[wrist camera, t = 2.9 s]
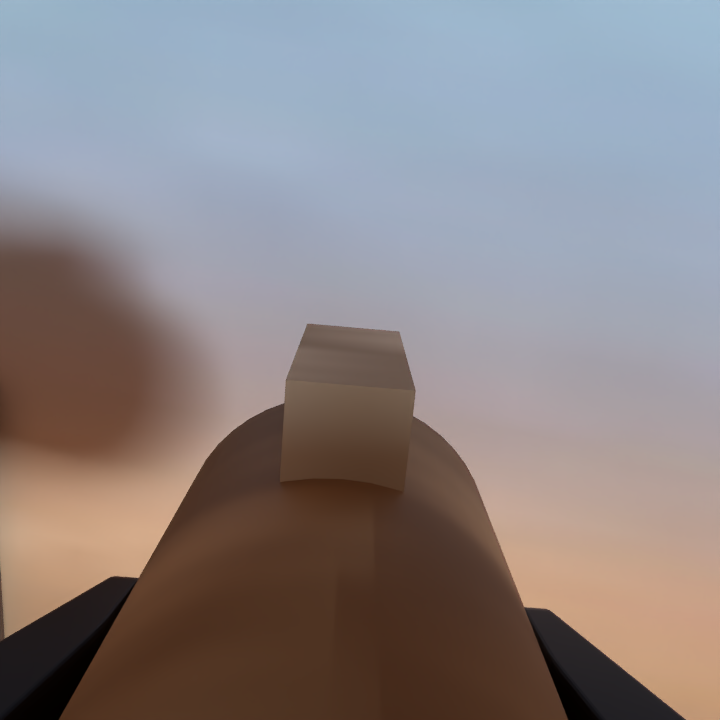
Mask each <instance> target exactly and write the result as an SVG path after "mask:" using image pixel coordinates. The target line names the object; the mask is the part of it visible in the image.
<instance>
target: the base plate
mask: <svg viewBox="0 0 720 720" xmlns="http://www.w3.org/2000/svg"><path fill="white" fill-rule="evenodd" d="M3 639H4V624H3V607H2V590H1V573H0V641H2V640H3Z"/></svg>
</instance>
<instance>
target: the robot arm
mask: <svg viewBox="0 0 720 720" xmlns="http://www.w3.org/2000/svg"><path fill="white" fill-rule="evenodd" d="M138 579H139V578H131V577H118V576H113V577H110V578H108V579H106V580H105V581H103V582H101V583H99V584H98V585H96V586H94V587H93V588H91V589H89V590H87V591H86V592H84V593H82V594H81V595H79V596H77V597H75V598H74V599H72V600H70V601H69V602H67V603H65V604H63V605H62V606H60V607H58V608H57V609H55V610H53V611H51V612H50V613H48V614H46V615H45V616H43V617H41V618H39V619H38V620H36V621H34V622H33V623H31V624H29V625H27V626H26V627H24V628H22V629H21V630H19V631H17V632H15V633H14V634H12V635H10V636H9V637H7V638H5V639H3V640H2V641H0V720H59V718H60V717H61V715H62V713H63V711H64V710H65V708H66V706H67V704H68V702H69V701H70V699H71V697H72V695H73V694H74V692H75V690H76V688H77V687H78V685H79V683H80V681H81V679H82V678H83V676H84V674H85V672H86V671H87V669H88V667H89V665H90V664H91V662H92V660H93V658H94V657H95V655H96V653H97V651H98V649H99V648H100V646H101V644H102V642H103V641H104V639H105V637H106V635H107V634H108V632H109V630H110V628H111V626H112V625H113V623H114V621H115V619H116V618H117V616H118V614H119V612H120V611H121V609H122V607H123V605H124V604H125V602H126V600H127V598H128V596H129V595H130V593H131V591H132V589H133V588H134V586H135V584H136V582H137V581H138ZM524 608H525V611H526V613H527V616H528V619H529V621H530V624H531V626H532V629H533V631H534V634H535V636H536V639H537V642H538V644H539V647H540V649H541V652H542V654H543V657H544V659H545V662H546V664H547V667H548V670H549V672H550V675H551V677H552V680H553V682H554V685H555V687H556V690H557V692H558V695H559V698H560V700H561V703H562V705H563V708H564V710H565V713H566V715H567V718H568V720H686V719H684V718H683V717H682V716H681V715H679V714H678V713H677V712H676V711H674V710H673V709H672V708H671V707H669V706H668V705H667V704H666V703H664V702H663V701H662V700H661V699H659V698H658V697H657V696H656V695H654V694H653V693H652V692H651V691H650V690H648V689H647V688H646V687H645V686H643V685H642V684H641V683H640V682H638V681H637V680H636V679H635V678H633V677H632V676H631V675H630V674H628V673H627V672H626V671H625V670H623V669H622V668H621V667H620V666H618V665H617V664H616V663H615V662H614V661H612V660H611V659H610V658H609V657H607V656H606V655H605V654H604V653H602V652H601V651H600V650H599V649H597V648H596V647H595V646H594V645H592V644H591V643H590V642H589V641H587V640H586V639H585V638H584V637H582V636H581V635H580V634H579V633H577V632H576V631H575V630H574V629H573V628H571V627H570V626H569V625H568V624H566V623H565V622H564V621H563V620H561V619H560V618H559V617H558V616H556V615H555V614H554V613H553V612H551V611H550V610H548V609H541V608H526V607H524Z"/></svg>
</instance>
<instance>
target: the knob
mask: <svg viewBox="0 0 720 720" xmlns="http://www.w3.org/2000/svg"><path fill="white" fill-rule="evenodd" d="M415 391H416V390H415V387H414V383H413V380H412V376H411V372H410V369H409V365H408V361H407V358H406V354H405V351H404V347H403V343H402V340H401V336H400V333H399V332H398V331H386V330H375V329H363V328H351V327H340V326H328V325H316V324H307V326H306V329H305V332H304V334H303V337H302V339H301V342H300V345H299V347H298V350H297V352H296V355H295V358H294V360H293V363H292V365H291V368H290V371H289V373H288V376H287V378H286V387H285V403H284V404H281V405H278V406H276V407H273V408H270V409H268V410H266V411H264V412H262V413H260V414H258V415H256V416H254V417H252V418H250V419H249V420H247V421H246V422H244V423H243V424H242V425H240V426H239V427H237V428H236V429H235V430H233V431H232V432H231V433H230V434H229V435H228V436H227V437H226V438H225V439H224V440H222V441H221V442H220V443H219V444H218V445H217V447H216V448H215V449H214V450H213V452H212V453H211V454H210V455H209V457H208V458H207V459H206V461H205V463H204V464H203V466H202V468H201V469H200V471H199V473H198V475H197V476H196V478H195V480H194V482H193V483H192V485H191V487H190V489H189V490H188V492H187V494H186V496H185V498H184V499H183V501H182V503H181V505H180V506H179V508H178V510H177V512H176V513H175V515H174V517H173V519H172V520H171V522H170V524H169V526H168V528H167V529H166V531H165V533H164V535H163V536H162V538H161V540H160V542H159V543H158V545H157V547H156V549H155V551H154V552H153V554H152V556H151V558H150V559H149V561H148V563H147V565H146V566H145V568H144V570H143V572H142V573H141V575H140V577H139V579H138V581H137V582H136V584H135V586H134V588H133V589H132V591H131V593H130V595H129V596H128V598H127V600H126V602H125V604H124V605H123V607H122V609H121V611H120V612H119V614H118V616H117V618H116V619H115V621H114V623H113V625H112V626H111V628H110V630H109V632H108V634H107V635H106V637H105V639H104V641H103V642H102V644H101V646H100V648H99V649H98V651H97V653H96V655H95V657H94V658H93V660H92V662H91V664H90V665H89V667H88V669H87V671H86V672H85V674H84V676H83V678H82V679H81V681H80V683H79V685H78V687H77V688H76V690H75V692H74V694H73V695H72V697H71V699H70V701H69V702H68V704H67V706H66V708H65V710H64V711H63V713H62V715H61V717H60V718H59V720H568V718H567V715H566V713H565V710H564V708H563V705H562V703H561V700H560V698H559V695H558V692H557V690H556V687H555V685H554V682H553V680H552V677H551V675H550V672H549V670H548V667H547V664H546V662H545V659H544V657H543V654H542V652H541V649H540V647H539V644H538V642H537V639H536V636H535V634H534V631H533V629H532V626H531V624H530V621H529V619H528V616H527V613H526V611H525V608H524V606H523V603H522V601H521V598H520V596H519V593H518V591H517V588H516V585H515V583H514V580H513V578H512V575H511V573H510V570H509V568H508V565H507V563H506V560H505V557H504V555H503V552H502V550H501V547H500V545H499V542H498V540H497V537H496V535H495V532H494V529H493V527H492V524H491V522H490V519H489V517H488V514H487V512H486V509H485V506H484V504H483V501H482V499H481V496H480V494H479V491H478V489H477V486H476V484H475V481H474V479H473V477H472V475H471V474H470V472H469V470H468V468H467V466H466V464H465V463H464V462H463V460H462V459H461V458H460V456H459V455H458V454H457V452H456V451H455V450H454V449H453V448H452V446H451V445H450V444H449V443H448V442H447V441H446V440H445V439H444V438H443V437H442V436H441V435H439V434H438V433H437V432H436V431H434V430H433V429H432V428H430V427H429V426H428V425H427V424H425V423H424V422H422V421H420V420H419V419H417V418H415V417H413V409H414V400H415Z"/></svg>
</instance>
